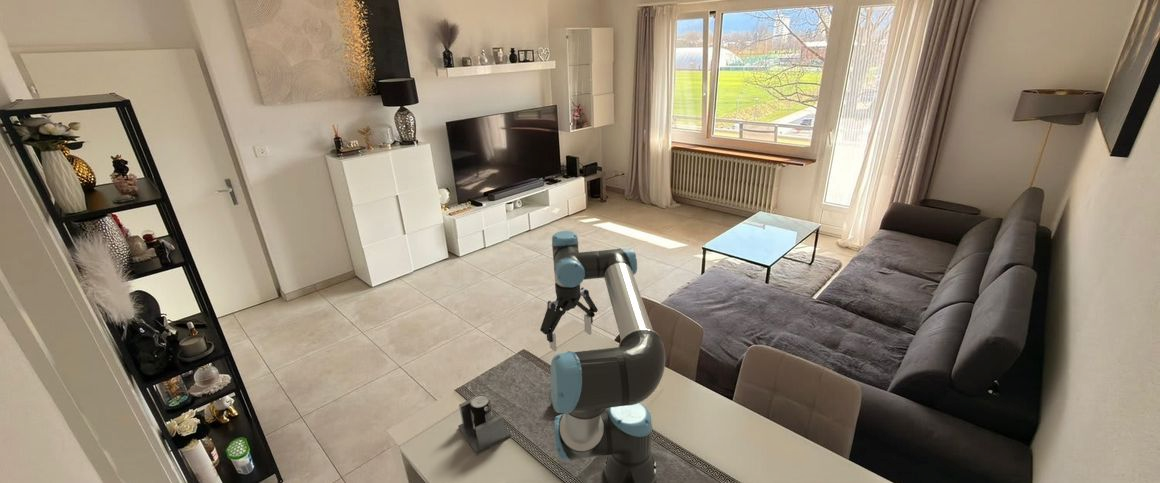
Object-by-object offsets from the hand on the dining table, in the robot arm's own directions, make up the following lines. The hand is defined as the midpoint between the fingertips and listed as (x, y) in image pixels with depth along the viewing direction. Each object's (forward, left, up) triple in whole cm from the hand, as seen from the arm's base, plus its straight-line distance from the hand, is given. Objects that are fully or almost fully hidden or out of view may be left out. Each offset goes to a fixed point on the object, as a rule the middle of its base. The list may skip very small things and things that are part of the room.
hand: (571, 340), depth 151 cm
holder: (+11, +29, -29) cm, 42 cm away
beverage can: (+11, +29, -28) cm, 41 cm away
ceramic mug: (+6, 0, -29) cm, 30 cm away
